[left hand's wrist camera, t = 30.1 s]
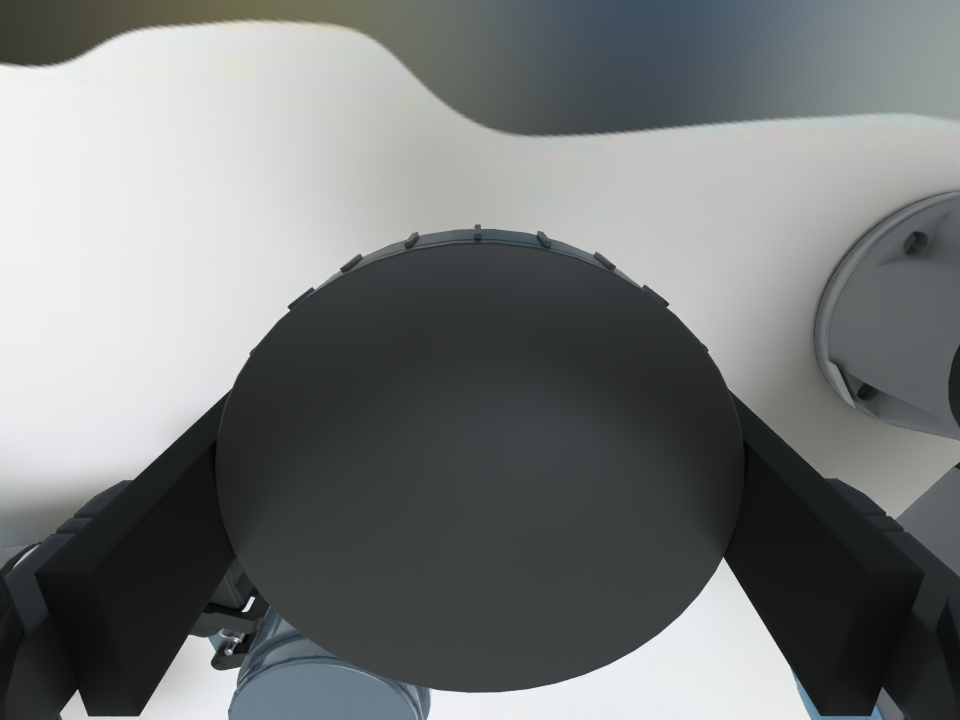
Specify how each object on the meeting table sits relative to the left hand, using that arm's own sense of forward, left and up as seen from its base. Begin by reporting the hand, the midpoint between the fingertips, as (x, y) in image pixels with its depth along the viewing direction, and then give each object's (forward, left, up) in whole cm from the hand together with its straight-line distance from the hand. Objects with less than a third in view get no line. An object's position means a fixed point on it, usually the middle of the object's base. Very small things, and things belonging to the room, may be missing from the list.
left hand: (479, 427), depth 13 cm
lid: (0, 0, +3) cm, 3 cm away
